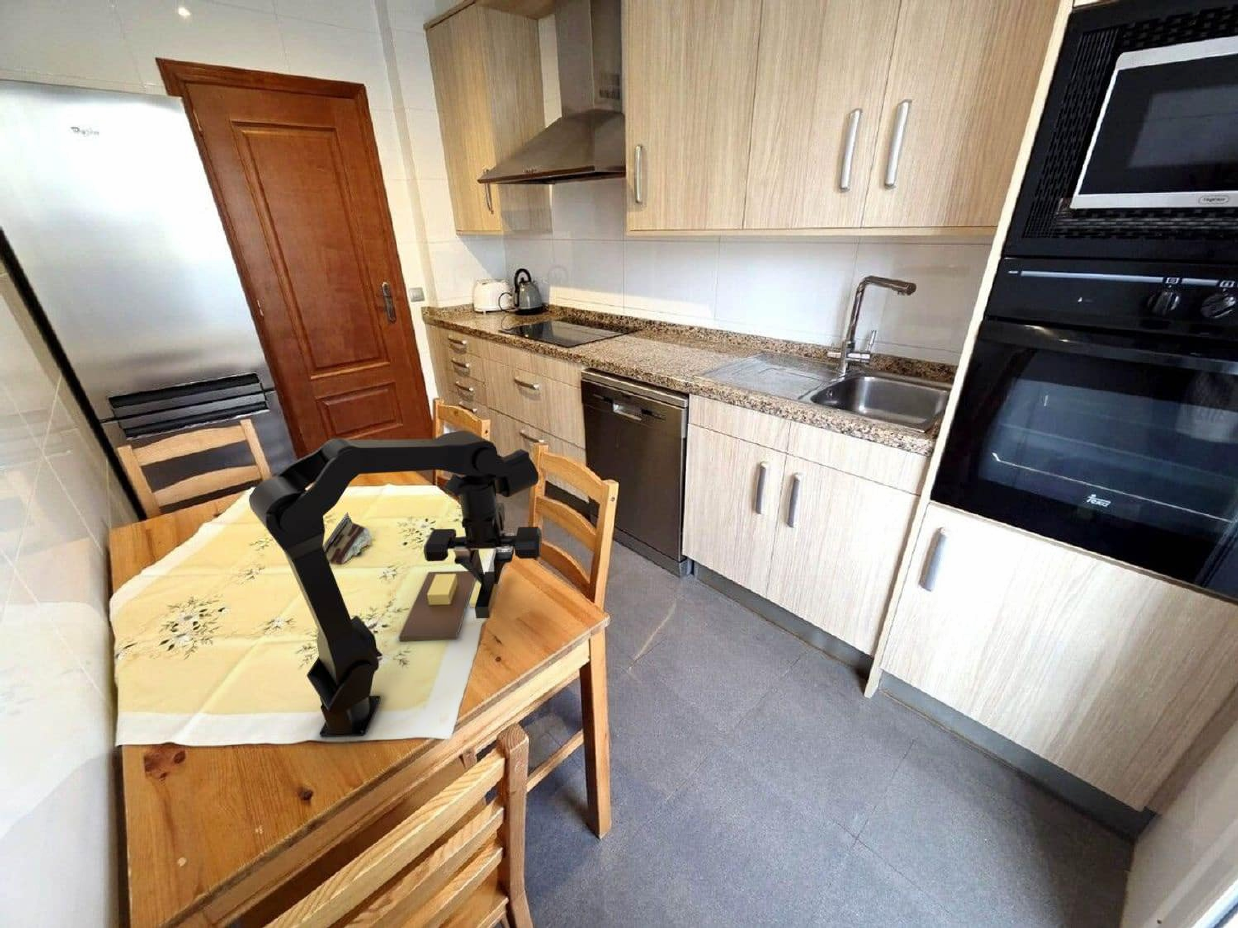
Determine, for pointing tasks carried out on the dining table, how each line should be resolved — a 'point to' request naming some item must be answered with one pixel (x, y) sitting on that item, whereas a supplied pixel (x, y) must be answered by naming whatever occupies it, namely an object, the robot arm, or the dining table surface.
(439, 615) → the board
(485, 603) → the knife
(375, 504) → the dining table surface
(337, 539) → the chocolate cake
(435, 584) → the butter block
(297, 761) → the dining table surface
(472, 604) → the butter slab
